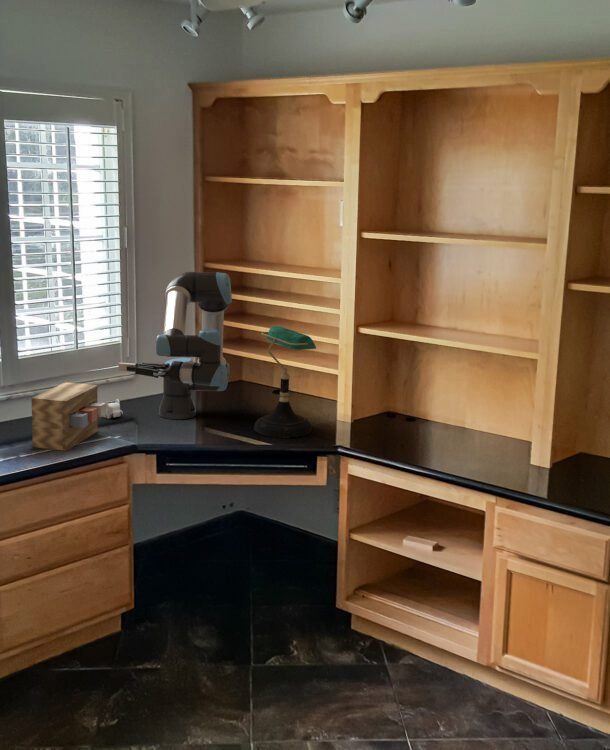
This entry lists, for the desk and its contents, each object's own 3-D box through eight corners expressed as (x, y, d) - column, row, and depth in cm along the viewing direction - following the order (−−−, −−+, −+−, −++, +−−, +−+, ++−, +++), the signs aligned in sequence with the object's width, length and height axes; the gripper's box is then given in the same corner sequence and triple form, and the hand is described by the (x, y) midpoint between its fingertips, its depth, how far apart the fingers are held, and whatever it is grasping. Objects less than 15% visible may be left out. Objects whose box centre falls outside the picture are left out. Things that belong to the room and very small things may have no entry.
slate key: (87, 425, 313) (87, 413, 313) (82, 428, 309) (82, 416, 308) (56, 422, 316) (56, 410, 315) (50, 425, 311) (50, 413, 310)
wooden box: (97, 431, 334) (97, 385, 330) (66, 450, 309) (65, 401, 305) (65, 427, 336) (65, 382, 332) (32, 447, 311) (31, 397, 308)
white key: (106, 414, 329) (105, 402, 328) (101, 417, 325) (101, 405, 324) (76, 411, 331) (76, 400, 330) (70, 414, 327) (70, 402, 326)
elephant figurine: (112, 421, 348) (112, 404, 346) (96, 417, 353) (96, 399, 352) (127, 418, 354) (127, 401, 352) (111, 413, 359) (111, 396, 358)
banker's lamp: (325, 435, 342) (330, 334, 333) (273, 442, 330) (277, 337, 321) (291, 418, 364) (295, 323, 355) (241, 424, 352) (244, 326, 343)
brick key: (97, 419, 321) (97, 408, 320) (91, 422, 317) (91, 411, 316) (66, 416, 323) (66, 405, 322) (61, 419, 319) (60, 408, 318)
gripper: (176, 387, 302) (112, 380, 306) (188, 378, 314) (126, 372, 318) (176, 365, 300) (111, 359, 304) (189, 358, 312) (126, 352, 317)
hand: (119, 366), depth 311 cm, fingers closed
